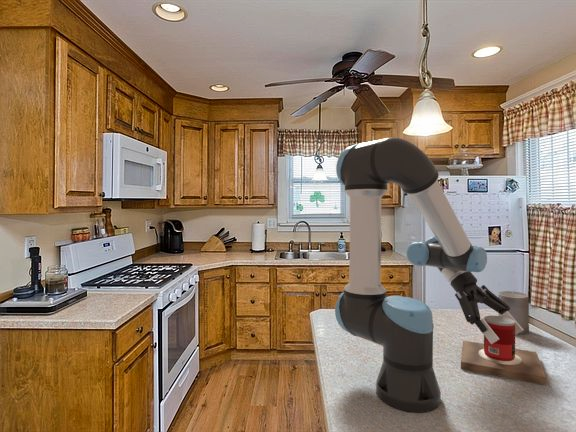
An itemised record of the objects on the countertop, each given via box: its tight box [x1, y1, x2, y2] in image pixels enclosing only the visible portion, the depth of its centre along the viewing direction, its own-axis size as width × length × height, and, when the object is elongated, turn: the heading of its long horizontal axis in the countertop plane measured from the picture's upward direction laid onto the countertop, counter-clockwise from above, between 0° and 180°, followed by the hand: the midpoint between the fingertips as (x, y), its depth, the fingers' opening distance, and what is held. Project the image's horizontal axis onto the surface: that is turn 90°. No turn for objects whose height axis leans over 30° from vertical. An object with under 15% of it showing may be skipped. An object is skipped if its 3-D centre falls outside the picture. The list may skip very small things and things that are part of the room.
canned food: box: [483, 315, 516, 361], centre depth 102 cm, size 8×8×11 cm
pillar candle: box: [497, 290, 530, 335], centre depth 130 cm, size 10×10×15 cm
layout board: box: [460, 340, 547, 386], centre depth 103 cm, size 20×18×2 cm
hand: (508, 337), depth 100 cm, fingers open, 13 cm apart
